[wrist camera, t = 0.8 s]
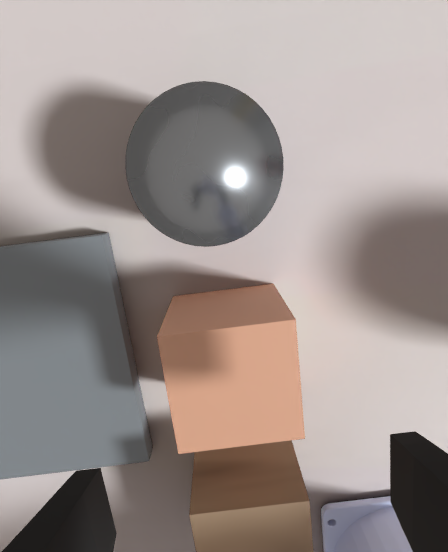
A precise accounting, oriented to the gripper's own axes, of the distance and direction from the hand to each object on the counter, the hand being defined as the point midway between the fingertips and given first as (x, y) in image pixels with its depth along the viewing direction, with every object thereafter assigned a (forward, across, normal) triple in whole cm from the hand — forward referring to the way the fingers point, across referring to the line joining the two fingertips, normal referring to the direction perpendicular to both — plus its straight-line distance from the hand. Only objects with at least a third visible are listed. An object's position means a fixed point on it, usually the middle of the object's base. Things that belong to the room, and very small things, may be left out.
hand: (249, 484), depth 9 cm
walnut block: (+10, 0, +8) cm, 13 cm away
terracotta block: (+10, 0, 0) cm, 10 cm away
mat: (+9, +11, 0) cm, 15 cm away
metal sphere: (+9, 0, -8) cm, 12 cm away
